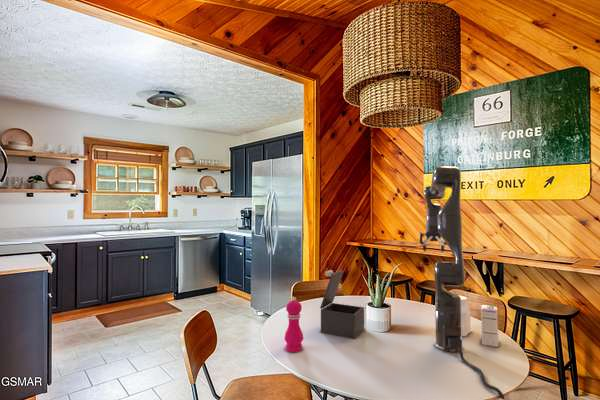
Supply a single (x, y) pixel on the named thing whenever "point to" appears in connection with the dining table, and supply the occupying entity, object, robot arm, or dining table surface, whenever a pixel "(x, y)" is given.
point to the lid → (331, 287)
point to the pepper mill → (293, 327)
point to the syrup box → (489, 325)
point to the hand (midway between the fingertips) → (433, 251)
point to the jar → (465, 317)
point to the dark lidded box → (342, 320)
